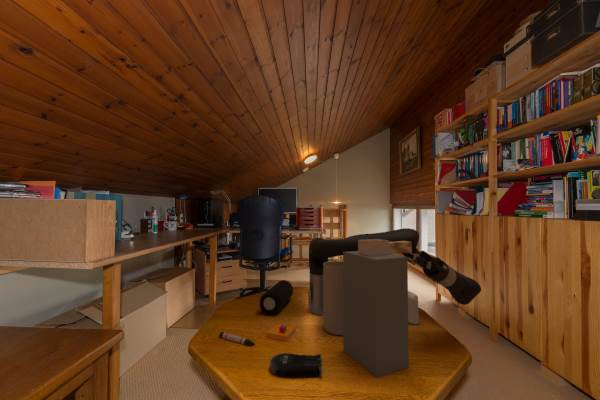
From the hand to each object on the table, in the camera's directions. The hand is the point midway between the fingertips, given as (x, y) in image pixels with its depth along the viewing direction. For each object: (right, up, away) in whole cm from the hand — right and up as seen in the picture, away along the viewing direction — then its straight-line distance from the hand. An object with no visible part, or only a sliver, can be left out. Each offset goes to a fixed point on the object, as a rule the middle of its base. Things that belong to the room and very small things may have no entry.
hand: (410, 251), depth 91 cm
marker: (-60, -32, +2) cm, 68 cm away
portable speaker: (-49, -34, +37) cm, 70 cm away
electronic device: (-39, -32, -14) cm, 52 cm away
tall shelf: (-15, -32, -8) cm, 36 cm away
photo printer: (+7, -33, +21) cm, 40 cm away
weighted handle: (-10, 0, -5) cm, 11 cm away
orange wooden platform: (-45, -33, +7) cm, 56 cm away
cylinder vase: (-23, -33, +13) cm, 42 cm away
